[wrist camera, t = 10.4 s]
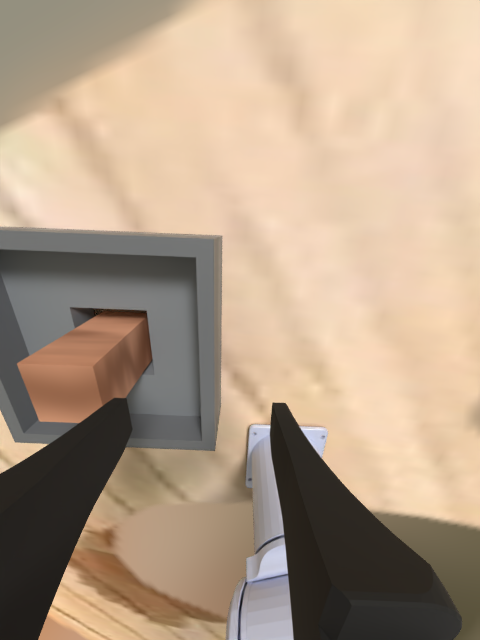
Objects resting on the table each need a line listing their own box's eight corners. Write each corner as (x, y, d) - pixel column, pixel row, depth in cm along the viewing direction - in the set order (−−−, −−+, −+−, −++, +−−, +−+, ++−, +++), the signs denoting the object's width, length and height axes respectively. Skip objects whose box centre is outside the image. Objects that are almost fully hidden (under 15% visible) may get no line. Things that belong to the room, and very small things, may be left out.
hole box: (220, 405, 23) (214, 450, 18) (61, 399, 23) (15, 442, 18) (222, 235, 17) (213, 239, 12) (6, 226, 17) (-84, 226, 12)
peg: (155, 354, 21) (106, 424, 14) (112, 352, 21) (39, 421, 14) (150, 313, 19) (92, 366, 12) (103, 311, 19) (16, 363, 12)
